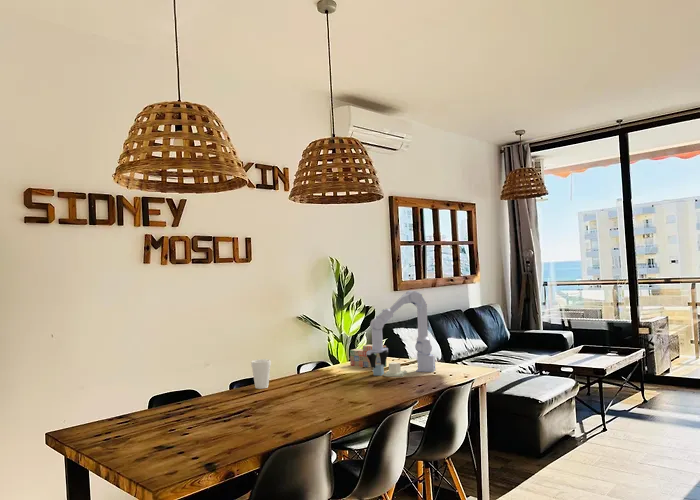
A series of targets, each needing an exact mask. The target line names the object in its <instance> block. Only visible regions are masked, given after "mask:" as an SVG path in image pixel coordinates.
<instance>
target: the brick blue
mask: <svg viewBox="0 0 700 500" xmlns="http://www.w3.org/2000/svg"><path fill="white" fill-rule="evenodd" d="M384 368H385V367H384V365H376V364H375V368H372V370H373V371H372V372H373V374H372V375H373V376H378V377H379V376H381V377H382V376H384V374H385V369H384Z"/></svg>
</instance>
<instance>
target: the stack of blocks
mask: <svg viewBox="0 0 700 500" xmlns="http://www.w3.org/2000/svg"><path fill="white" fill-rule="evenodd" d="M383 348H387V345H383ZM369 350H372V344H365V345H362V348H354V349H350V350H349V357H350V358H349V359H350V363H349V364H350V365H349V366H350V367H351V366H352V367H353V366H354V367H363V368H372V367H371V364H370V361H369V359H368V357H367V351H369ZM374 355H377V357H376V361H375V364H376V365H381V359H380V355H379V353H376V354H374ZM385 367H387V362H386V363H385V366H384V368H385Z"/></svg>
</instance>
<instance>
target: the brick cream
mask: <svg viewBox="0 0 700 500" xmlns="http://www.w3.org/2000/svg"><path fill="white" fill-rule="evenodd" d="M401 368H402V367H401V362H395V361H394V362H393V361H391V362H389V363H388V371H389V373H395V374H397V373H400V372H401V371H402V369H401Z"/></svg>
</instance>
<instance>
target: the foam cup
mask: <svg viewBox="0 0 700 500" xmlns="http://www.w3.org/2000/svg"><path fill="white" fill-rule="evenodd" d="M250 363H251V364H250V365H251V369H252V375H253V381H254V388H255V389H259V390H261V389H268V387H269V385H270V384H269V383H270V373H271V372H270V371H271V365H272V360H271V359H266V358H263V359H253V360H251V362H250Z"/></svg>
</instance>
